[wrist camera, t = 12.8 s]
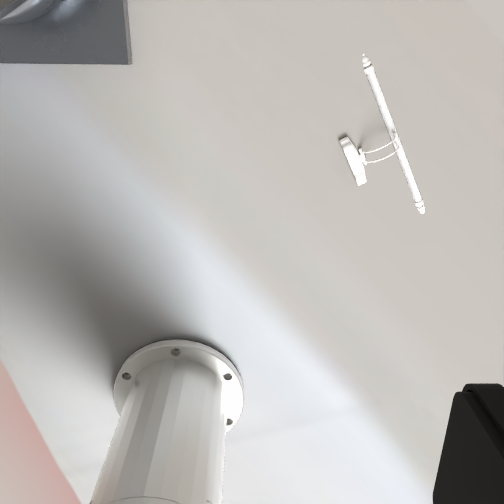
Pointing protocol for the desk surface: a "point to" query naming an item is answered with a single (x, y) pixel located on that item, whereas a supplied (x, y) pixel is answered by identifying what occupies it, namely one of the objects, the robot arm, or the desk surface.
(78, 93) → the desk surface
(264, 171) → the desk surface
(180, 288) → the desk surface
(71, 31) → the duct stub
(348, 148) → the picture light
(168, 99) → the desk surface
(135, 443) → the robot arm
